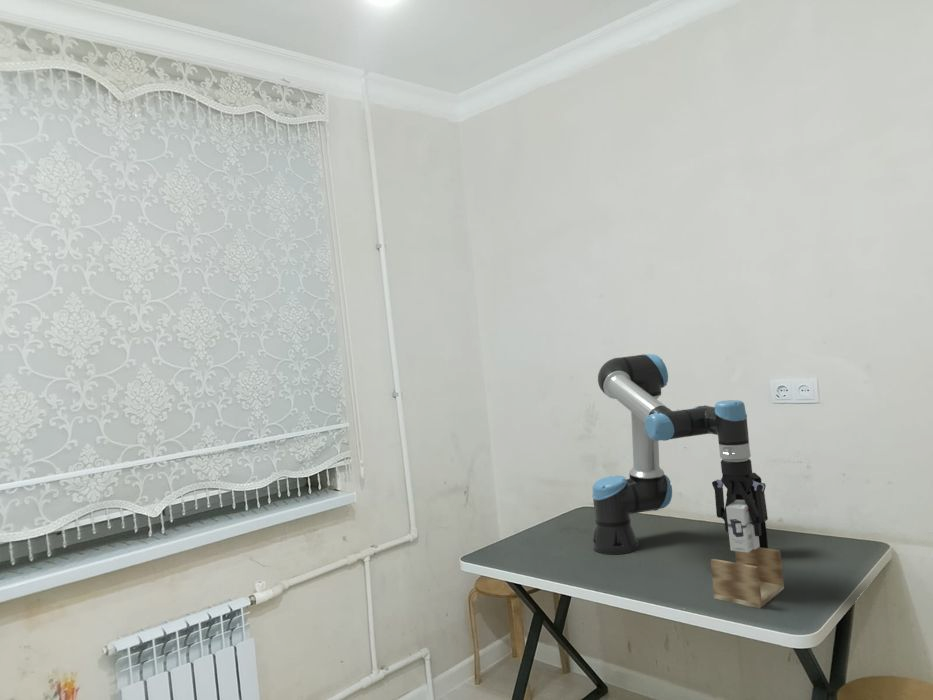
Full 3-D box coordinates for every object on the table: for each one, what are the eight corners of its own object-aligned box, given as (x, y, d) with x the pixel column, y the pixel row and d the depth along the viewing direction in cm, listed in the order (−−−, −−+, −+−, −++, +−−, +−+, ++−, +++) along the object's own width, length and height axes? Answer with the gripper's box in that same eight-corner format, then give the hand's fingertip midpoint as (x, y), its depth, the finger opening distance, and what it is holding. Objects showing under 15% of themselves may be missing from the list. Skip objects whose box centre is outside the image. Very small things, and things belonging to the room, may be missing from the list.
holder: (714, 598, 170) (710, 560, 170) (739, 579, 181) (736, 543, 181) (760, 608, 161) (756, 568, 161) (784, 588, 172) (780, 550, 172)
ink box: (740, 541, 176) (735, 498, 176) (759, 543, 173) (754, 499, 173) (729, 550, 169) (725, 506, 169) (749, 553, 166) (744, 507, 166)
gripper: (696, 460, 175) (705, 545, 175) (764, 463, 162) (774, 555, 162) (709, 454, 180) (718, 537, 180) (776, 458, 167) (786, 547, 167)
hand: (744, 545), depth 171 cm, fingers closed on ink box, 5 cm apart
